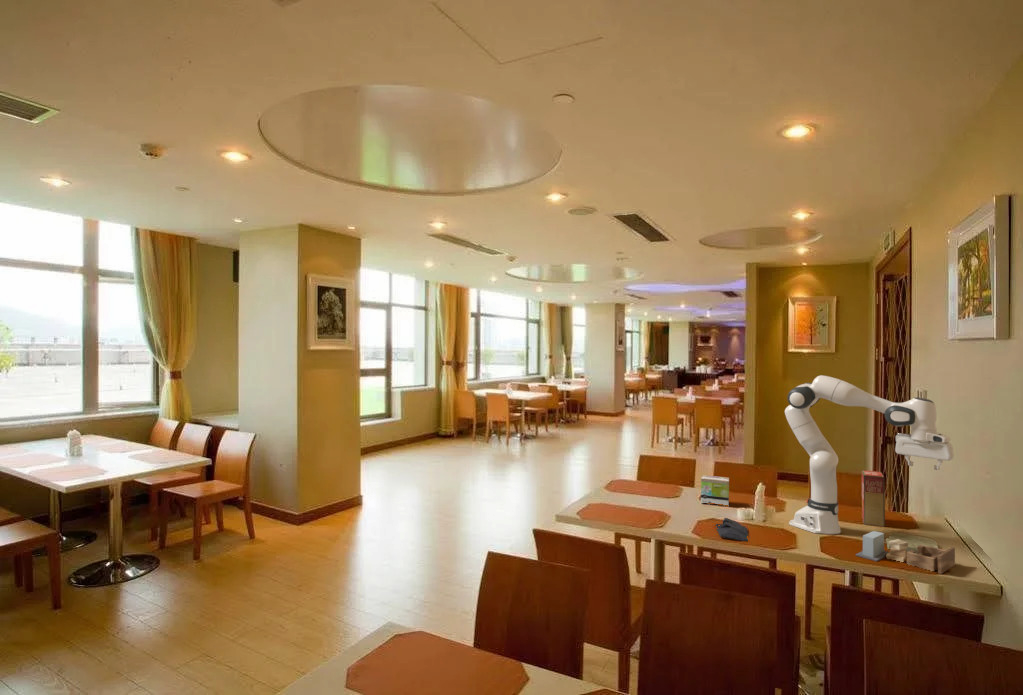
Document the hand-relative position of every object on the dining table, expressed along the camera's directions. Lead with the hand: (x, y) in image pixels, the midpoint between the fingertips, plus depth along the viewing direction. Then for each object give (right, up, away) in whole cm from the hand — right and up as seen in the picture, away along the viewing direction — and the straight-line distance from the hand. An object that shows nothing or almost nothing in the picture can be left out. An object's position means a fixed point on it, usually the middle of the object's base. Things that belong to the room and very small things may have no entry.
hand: (923, 467), depth 236 cm
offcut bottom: (-14, -38, -5) cm, 41 cm away
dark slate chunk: (-72, -38, +26) cm, 86 cm away
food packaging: (+7, -38, +43) cm, 58 cm away
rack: (-6, -37, -12) cm, 39 cm away
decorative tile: (0, -38, +8) cm, 39 cm away
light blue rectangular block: (-23, -36, -1) cm, 43 cm away
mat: (-23, -37, -1) cm, 43 cm away
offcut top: (-14, -33, -5) cm, 36 cm away
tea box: (-62, -38, +76) cm, 105 cm away
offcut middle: (-14, -35, -5) cm, 38 cm away
